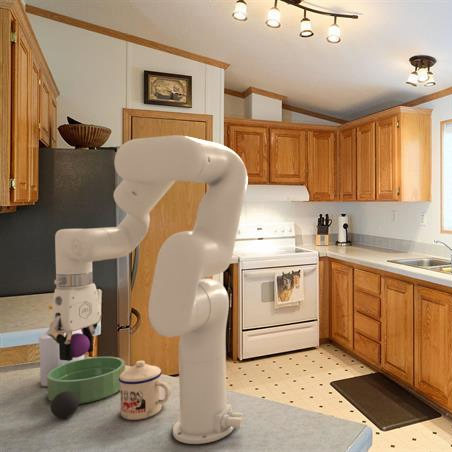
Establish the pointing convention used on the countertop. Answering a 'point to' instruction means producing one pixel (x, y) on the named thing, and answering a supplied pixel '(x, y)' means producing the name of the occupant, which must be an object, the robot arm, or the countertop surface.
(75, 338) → the purple ball
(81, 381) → the green bowl
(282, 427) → the countertop surface
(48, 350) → the soap bottle
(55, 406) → the charcoal ball
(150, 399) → the teacup with lid
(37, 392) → the countertop surface
